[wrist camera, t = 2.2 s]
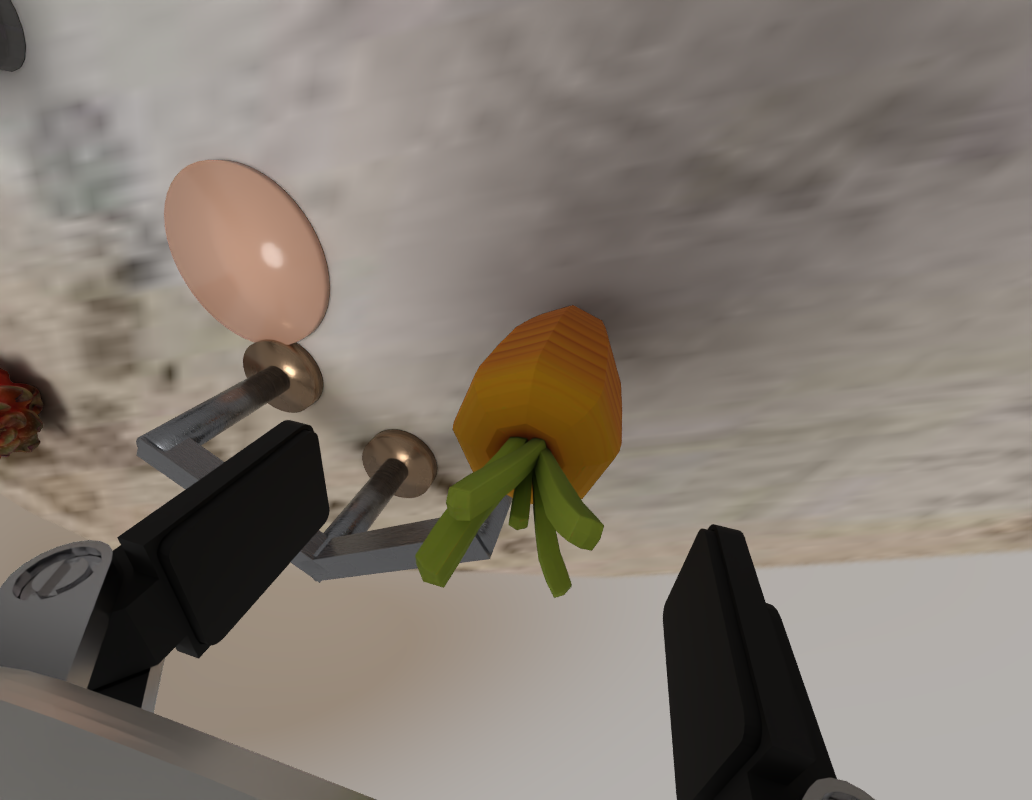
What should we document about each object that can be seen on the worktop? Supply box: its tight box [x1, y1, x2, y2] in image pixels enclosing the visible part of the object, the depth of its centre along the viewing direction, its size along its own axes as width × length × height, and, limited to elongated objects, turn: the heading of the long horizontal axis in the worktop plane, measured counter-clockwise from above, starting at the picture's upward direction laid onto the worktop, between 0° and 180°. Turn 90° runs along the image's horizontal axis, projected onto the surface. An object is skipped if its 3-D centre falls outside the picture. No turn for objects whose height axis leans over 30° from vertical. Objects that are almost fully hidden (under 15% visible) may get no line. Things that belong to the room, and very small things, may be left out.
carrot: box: [415, 305, 622, 598], centre depth 14 cm, size 5×5×15 cm
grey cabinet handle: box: [136, 340, 513, 583], centre depth 23 cm, size 21×10×9 cm, turn 84°
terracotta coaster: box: [164, 160, 330, 345], centre depth 23 cm, size 10×10×1 cm
